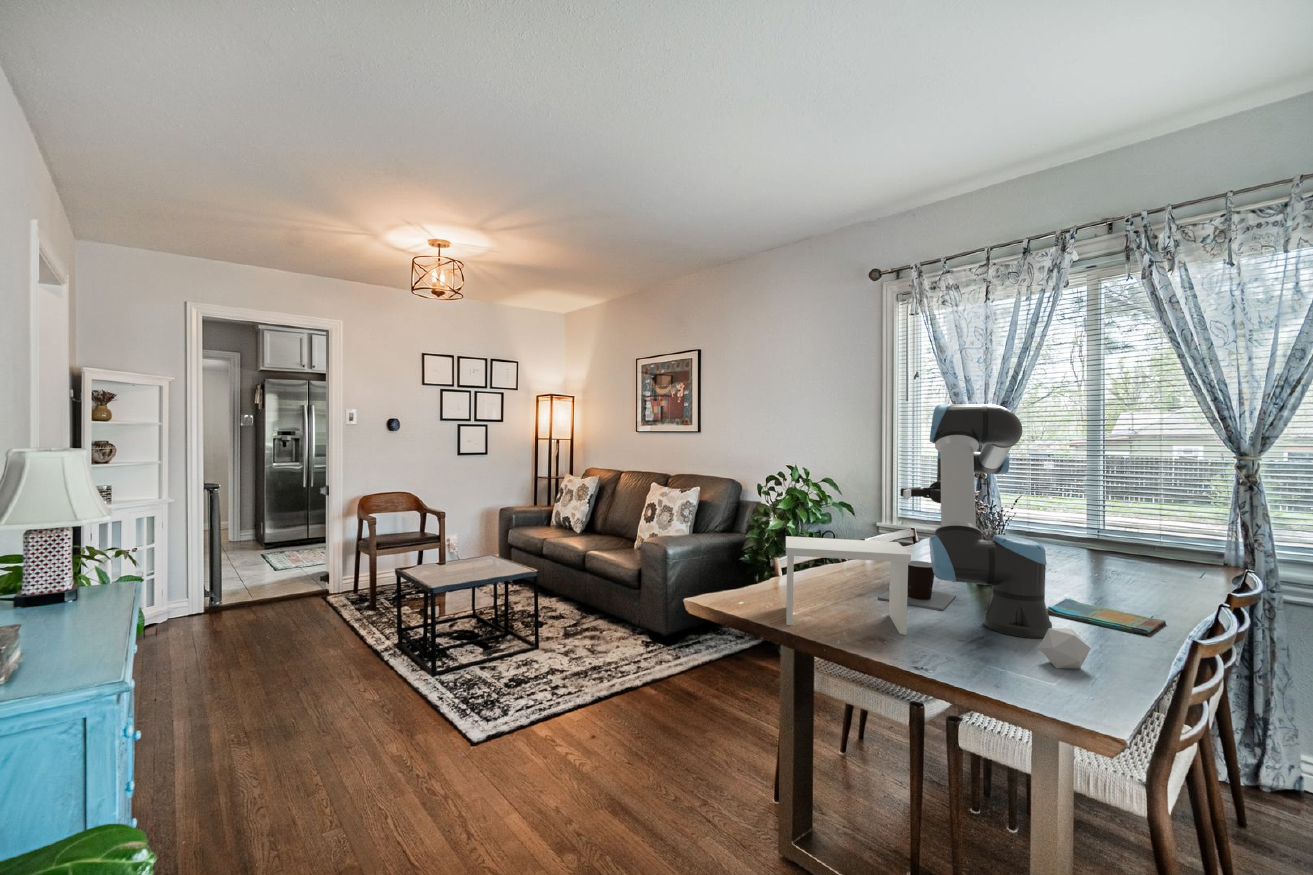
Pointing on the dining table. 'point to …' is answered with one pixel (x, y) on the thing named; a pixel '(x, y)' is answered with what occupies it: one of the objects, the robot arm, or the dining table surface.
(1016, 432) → the robot arm
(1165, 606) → the dining table surface
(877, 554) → the shelf stand
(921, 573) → the coffee mug
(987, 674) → the dining table surface
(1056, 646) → the die
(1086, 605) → the dish towel
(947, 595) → the placemat
